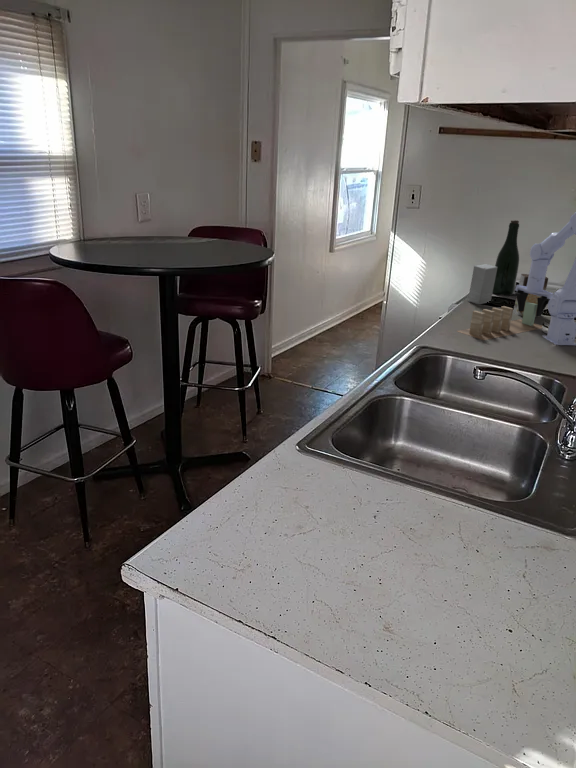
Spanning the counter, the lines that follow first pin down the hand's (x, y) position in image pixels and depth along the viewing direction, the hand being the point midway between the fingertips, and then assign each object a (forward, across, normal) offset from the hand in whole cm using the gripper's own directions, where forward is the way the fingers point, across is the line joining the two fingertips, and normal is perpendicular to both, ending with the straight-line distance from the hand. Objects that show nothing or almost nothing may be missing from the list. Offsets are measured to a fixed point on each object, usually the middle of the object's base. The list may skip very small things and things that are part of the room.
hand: (529, 313), depth 224 cm
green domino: (+4, 0, 0) cm, 4 cm away
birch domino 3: (+4, 0, +20) cm, 20 cm away
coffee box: (+5, +10, -14) cm, 18 cm away
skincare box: (+5, +34, -14) cm, 37 cm away
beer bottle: (+5, +41, -39) cm, 57 cm away
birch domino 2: (+4, 0, +25) cm, 25 cm away
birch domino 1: (+4, 0, +30) cm, 30 cm away
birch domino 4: (+4, 0, +14) cm, 15 cm away
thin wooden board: (+5, 0, +15) cm, 16 cm away
